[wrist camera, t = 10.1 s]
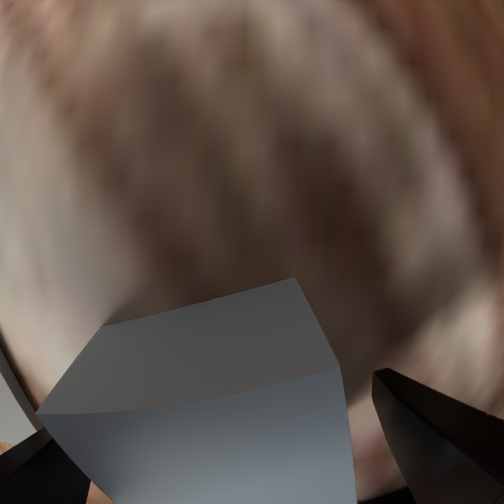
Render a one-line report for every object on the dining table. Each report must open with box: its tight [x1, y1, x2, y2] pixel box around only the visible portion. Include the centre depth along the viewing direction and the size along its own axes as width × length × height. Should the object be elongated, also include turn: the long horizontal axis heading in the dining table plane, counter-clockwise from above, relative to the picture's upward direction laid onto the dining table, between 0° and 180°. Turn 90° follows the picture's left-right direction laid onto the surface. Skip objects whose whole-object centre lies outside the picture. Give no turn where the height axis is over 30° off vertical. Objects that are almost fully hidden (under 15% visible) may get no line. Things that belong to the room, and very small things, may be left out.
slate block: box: [35, 277, 357, 504], centre depth 7 cm, size 6×6×4 cm
